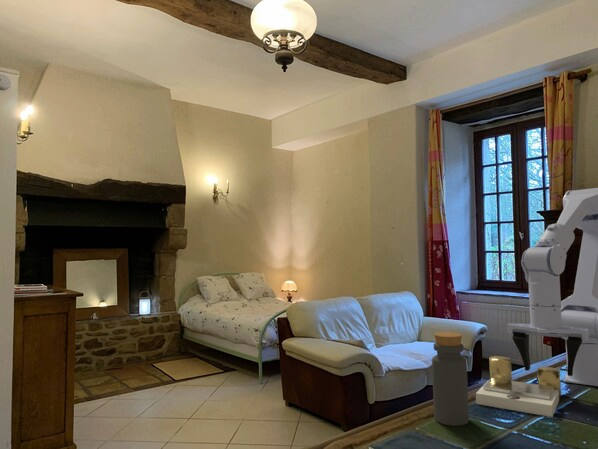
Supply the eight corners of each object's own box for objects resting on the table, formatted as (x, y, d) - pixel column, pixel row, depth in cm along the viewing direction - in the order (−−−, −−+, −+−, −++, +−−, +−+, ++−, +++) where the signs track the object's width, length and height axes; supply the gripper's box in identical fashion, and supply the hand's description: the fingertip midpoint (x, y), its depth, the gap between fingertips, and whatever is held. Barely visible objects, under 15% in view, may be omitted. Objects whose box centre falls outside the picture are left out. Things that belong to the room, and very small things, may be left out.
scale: (488, 389, 95) (488, 379, 95) (559, 400, 88) (558, 389, 88) (476, 403, 87) (475, 392, 87) (552, 417, 80) (551, 404, 80)
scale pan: (491, 380, 95) (491, 378, 95) (554, 389, 88) (554, 386, 88) (483, 389, 89) (483, 386, 89) (549, 399, 83) (549, 396, 83)
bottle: (468, 415, 81) (464, 331, 82) (469, 427, 76) (465, 338, 77) (434, 412, 83) (431, 330, 84) (433, 424, 78) (430, 336, 79)
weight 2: (540, 390, 95) (539, 366, 95) (562, 393, 92) (560, 368, 92) (537, 395, 91) (536, 370, 92) (560, 398, 89) (558, 373, 89)
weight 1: (493, 379, 94) (492, 355, 94) (514, 382, 91) (513, 357, 91) (487, 384, 90) (486, 359, 91) (509, 388, 88) (507, 362, 88)
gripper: (502, 305, 94) (505, 371, 93) (585, 309, 85) (589, 382, 84) (509, 301, 99) (512, 364, 99) (587, 305, 91) (591, 373, 90)
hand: (548, 372), depth 92 cm, fingers open, 7 cm apart
